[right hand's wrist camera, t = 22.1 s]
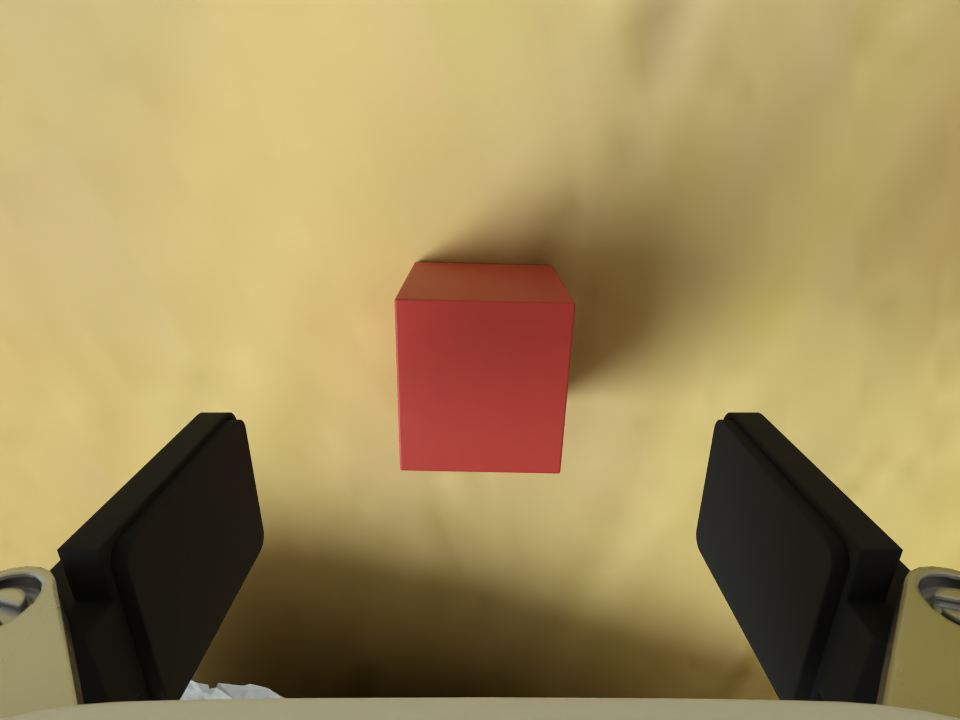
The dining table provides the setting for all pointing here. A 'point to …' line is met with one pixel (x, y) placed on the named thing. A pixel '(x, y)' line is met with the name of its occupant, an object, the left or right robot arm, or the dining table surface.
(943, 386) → the dining table surface
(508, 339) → the block
